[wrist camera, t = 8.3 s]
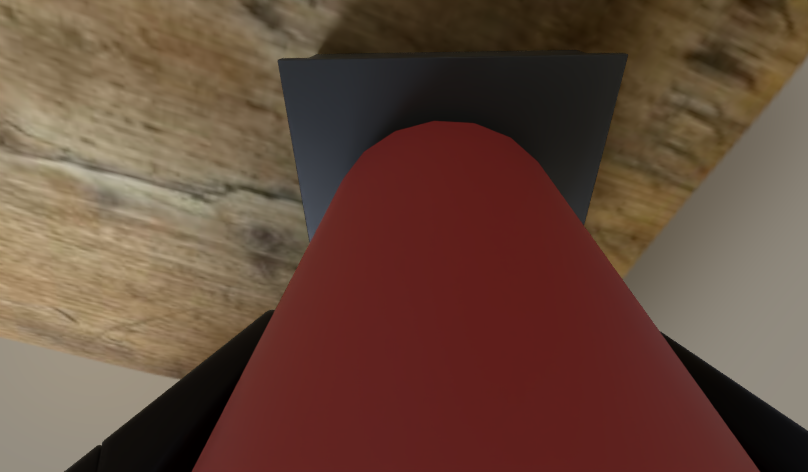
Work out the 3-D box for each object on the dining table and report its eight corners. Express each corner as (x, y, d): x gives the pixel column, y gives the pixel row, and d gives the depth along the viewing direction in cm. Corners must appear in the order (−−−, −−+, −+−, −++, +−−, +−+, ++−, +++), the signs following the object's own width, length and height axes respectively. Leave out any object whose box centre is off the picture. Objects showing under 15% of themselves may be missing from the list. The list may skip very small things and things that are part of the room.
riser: (538, 269, 17) (559, 319, 14) (338, 266, 17) (322, 314, 15) (584, 42, 12) (629, 54, 10) (308, 47, 13) (276, 59, 10)
